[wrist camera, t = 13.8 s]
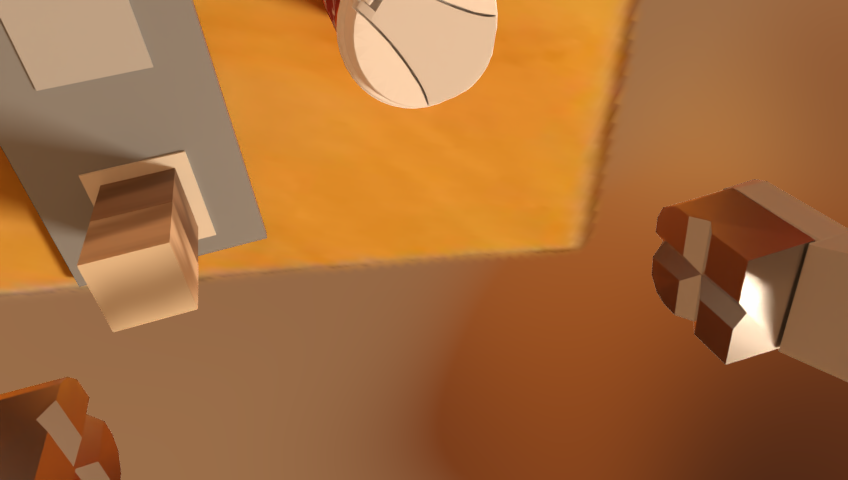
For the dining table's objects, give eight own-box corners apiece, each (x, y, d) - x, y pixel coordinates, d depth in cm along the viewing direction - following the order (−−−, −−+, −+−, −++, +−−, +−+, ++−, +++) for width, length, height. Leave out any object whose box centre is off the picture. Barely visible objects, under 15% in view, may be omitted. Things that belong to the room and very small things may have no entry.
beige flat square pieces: (-90, -32, 34) (-99, -28, 33) (168, -75, 37) (168, -73, 36) (81, 279, 47) (78, 288, 46) (266, 231, 49) (267, 239, 48)
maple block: (90, 221, 38) (77, 265, 34) (172, 201, 39) (169, 242, 35) (121, 284, 41) (113, 332, 37) (198, 264, 42) (197, 308, 38)
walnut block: (100, 185, 42) (89, 221, 38) (175, 168, 43) (172, 201, 39) (128, 245, 45) (121, 284, 41) (198, 227, 46) (197, 264, 42)
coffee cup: (275, -7, 40) (306, 56, 28) (347, -121, 38) (415, -105, 26) (375, 66, 45) (439, 147, 33) (445, -33, 43) (542, 16, 30)
